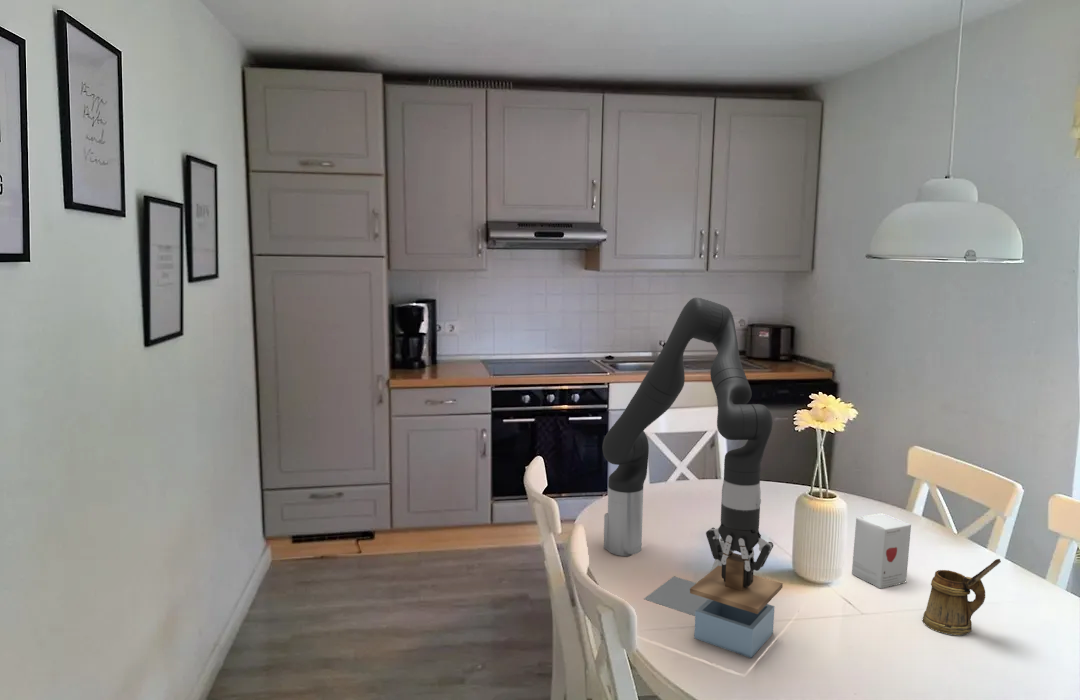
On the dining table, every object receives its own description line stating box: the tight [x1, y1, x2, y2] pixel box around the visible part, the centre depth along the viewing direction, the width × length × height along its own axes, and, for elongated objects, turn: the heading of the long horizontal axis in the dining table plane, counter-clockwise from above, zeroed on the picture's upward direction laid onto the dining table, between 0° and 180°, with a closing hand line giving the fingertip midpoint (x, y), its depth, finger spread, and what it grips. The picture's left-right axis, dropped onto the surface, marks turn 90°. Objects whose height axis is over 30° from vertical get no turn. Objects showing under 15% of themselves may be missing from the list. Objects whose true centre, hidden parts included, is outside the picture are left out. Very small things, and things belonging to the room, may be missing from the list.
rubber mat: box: [643, 575, 708, 617], centre depth 166 cm, size 15×15×1 cm
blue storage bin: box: [693, 599, 776, 659], centre depth 148 cm, size 12×12×6 cm
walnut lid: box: [690, 552, 784, 614], centre depth 147 cm, size 14×14×7 cm
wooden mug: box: [922, 558, 1001, 636], centre depth 152 cm, size 9×14×18 cm, turn 38°
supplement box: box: [851, 512, 912, 589], centre depth 176 cm, size 9×9×15 cm
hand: (737, 583), depth 147 cm, fingers closed on walnut lid, 3 cm apart
